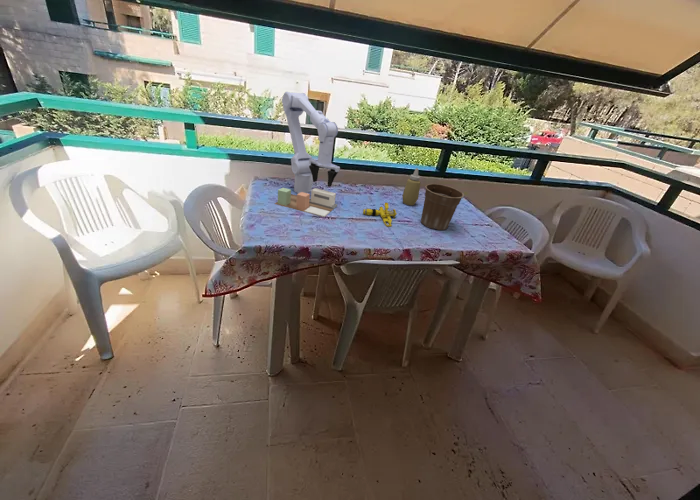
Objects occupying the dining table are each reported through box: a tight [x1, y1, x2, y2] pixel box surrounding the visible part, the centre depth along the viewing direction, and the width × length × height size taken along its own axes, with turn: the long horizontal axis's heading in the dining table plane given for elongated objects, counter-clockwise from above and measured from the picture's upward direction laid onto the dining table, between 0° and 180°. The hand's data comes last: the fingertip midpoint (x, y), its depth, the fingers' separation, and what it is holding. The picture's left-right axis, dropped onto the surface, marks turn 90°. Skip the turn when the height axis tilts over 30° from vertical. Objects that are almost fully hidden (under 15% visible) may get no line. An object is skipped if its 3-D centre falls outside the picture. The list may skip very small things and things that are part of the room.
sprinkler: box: [362, 202, 398, 228], centre depth 143 cm, size 19×4×15 cm
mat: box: [304, 206, 331, 218], centre depth 136 cm, size 6×9×1 cm, turn 71°
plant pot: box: [420, 183, 465, 231], centre depth 141 cm, size 16×16×16 cm
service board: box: [274, 193, 337, 218], centre depth 142 cm, size 15×23×1 cm, turn 71°
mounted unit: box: [309, 187, 338, 210], centre depth 143 cm, size 5×12×6 cm, turn 71°
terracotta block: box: [296, 192, 311, 210], centre depth 137 cm, size 4×4×6 cm
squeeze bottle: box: [401, 167, 422, 206], centre depth 160 cm, size 8×8×18 cm
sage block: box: [277, 187, 292, 206], centre depth 138 cm, size 4×4×6 cm
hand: (322, 183), depth 143 cm, fingers open, 7 cm apart
